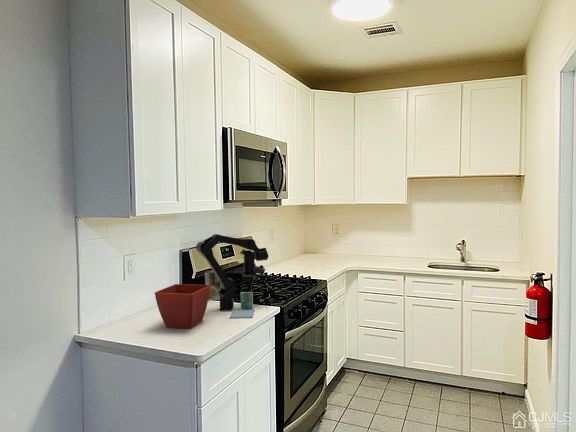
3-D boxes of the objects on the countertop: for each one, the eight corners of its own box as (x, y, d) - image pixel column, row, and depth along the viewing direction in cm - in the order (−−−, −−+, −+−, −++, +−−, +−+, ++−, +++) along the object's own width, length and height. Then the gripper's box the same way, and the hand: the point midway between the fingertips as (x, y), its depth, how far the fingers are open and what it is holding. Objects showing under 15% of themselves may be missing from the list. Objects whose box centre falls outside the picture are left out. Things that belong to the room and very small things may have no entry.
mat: (229, 318, 204) (229, 317, 204) (232, 311, 216) (232, 310, 216) (252, 317, 204) (252, 316, 204) (254, 310, 216) (254, 309, 216)
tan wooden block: (240, 310, 217) (240, 293, 217) (241, 309, 220) (241, 292, 220) (252, 310, 217) (252, 293, 217) (253, 308, 220) (252, 291, 220)
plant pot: (176, 317, 209) (175, 283, 208) (212, 319, 204) (210, 284, 203) (155, 329, 190) (153, 292, 189) (193, 331, 185) (192, 294, 184)
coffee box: (224, 297, 245) (223, 270, 245) (221, 300, 239) (220, 272, 238) (208, 297, 246) (207, 270, 246) (205, 300, 240) (204, 272, 239)
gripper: (263, 264, 217) (263, 294, 218) (265, 258, 236) (265, 286, 236) (241, 264, 217) (242, 294, 218) (245, 259, 236) (245, 286, 237)
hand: (249, 290), depth 227 cm, fingers closed
